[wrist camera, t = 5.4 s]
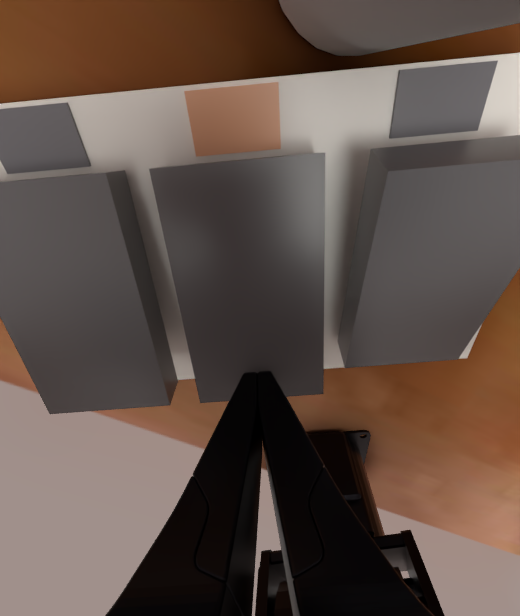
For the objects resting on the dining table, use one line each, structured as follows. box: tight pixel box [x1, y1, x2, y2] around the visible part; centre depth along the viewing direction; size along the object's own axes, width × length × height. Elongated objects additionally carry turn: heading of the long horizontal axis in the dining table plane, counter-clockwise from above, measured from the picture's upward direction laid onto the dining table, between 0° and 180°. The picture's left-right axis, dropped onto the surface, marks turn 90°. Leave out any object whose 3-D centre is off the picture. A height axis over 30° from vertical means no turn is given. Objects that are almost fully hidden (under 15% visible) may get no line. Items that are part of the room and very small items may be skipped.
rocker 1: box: [0, 170, 178, 414], centre depth 9 cm, size 7×4×1 cm, turn 5°
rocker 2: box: [149, 153, 325, 403], centre depth 9 cm, size 7×4×1 cm, turn 4°
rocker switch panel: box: [0, 53, 520, 380], centre depth 11 cm, size 10×17×3 cm, turn 95°
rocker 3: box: [338, 135, 520, 368], centre depth 9 cm, size 7×4×1 cm, turn 4°
